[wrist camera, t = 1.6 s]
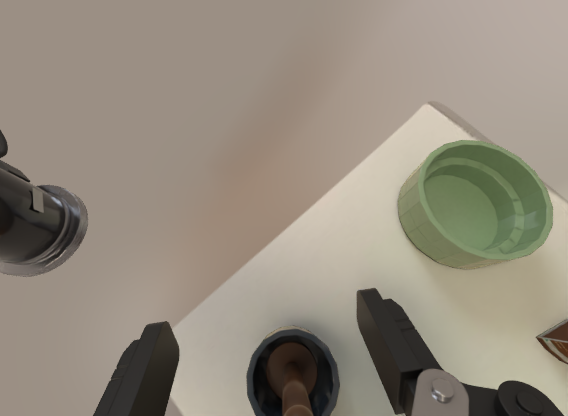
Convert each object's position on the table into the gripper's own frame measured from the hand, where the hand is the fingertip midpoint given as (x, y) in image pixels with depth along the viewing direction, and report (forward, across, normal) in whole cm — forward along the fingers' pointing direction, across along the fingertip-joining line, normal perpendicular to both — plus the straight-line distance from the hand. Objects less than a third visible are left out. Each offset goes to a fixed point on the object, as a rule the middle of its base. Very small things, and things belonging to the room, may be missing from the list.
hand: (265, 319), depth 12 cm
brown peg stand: (+9, 0, +17) cm, 19 cm away
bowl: (+19, -22, +8) cm, 31 cm away
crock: (+9, 0, +17) cm, 19 cm away
